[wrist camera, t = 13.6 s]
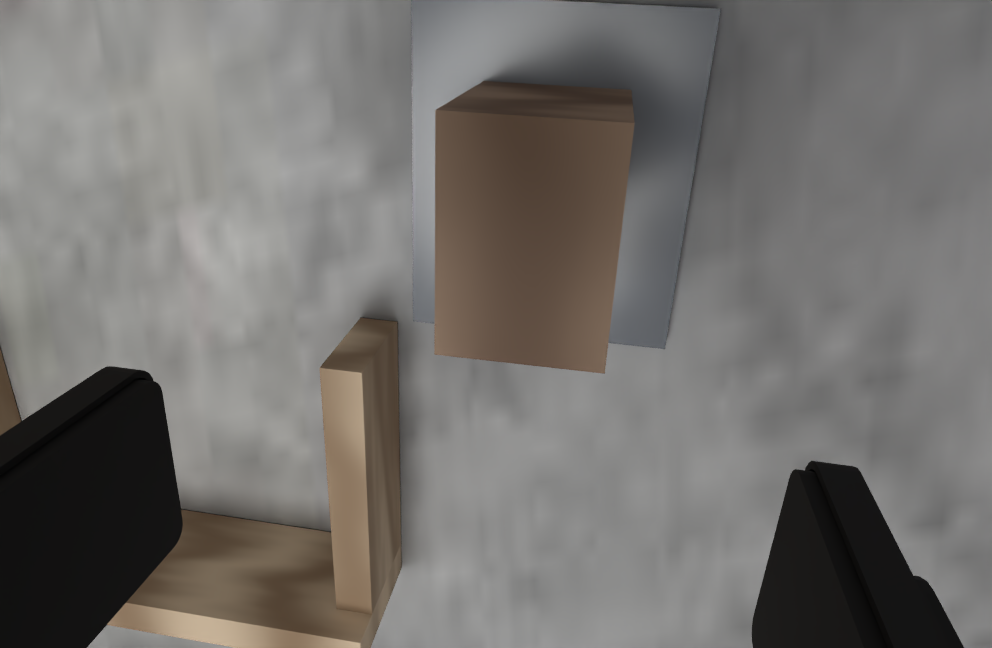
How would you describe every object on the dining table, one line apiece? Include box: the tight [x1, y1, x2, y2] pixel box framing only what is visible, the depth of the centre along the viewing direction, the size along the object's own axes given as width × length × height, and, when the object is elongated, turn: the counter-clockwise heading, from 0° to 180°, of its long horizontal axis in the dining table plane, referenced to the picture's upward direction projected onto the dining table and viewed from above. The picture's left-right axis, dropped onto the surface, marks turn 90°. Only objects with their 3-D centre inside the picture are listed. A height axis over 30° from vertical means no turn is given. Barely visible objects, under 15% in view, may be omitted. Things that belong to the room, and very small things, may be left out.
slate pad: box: [411, 0, 721, 349], centre depth 26 cm, size 10×12×1 cm
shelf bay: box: [0, 318, 401, 648], centre depth 31 cm, size 21×14×6 cm, turn 88°
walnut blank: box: [435, 81, 635, 373], centre depth 22 cm, size 5×7×7 cm
